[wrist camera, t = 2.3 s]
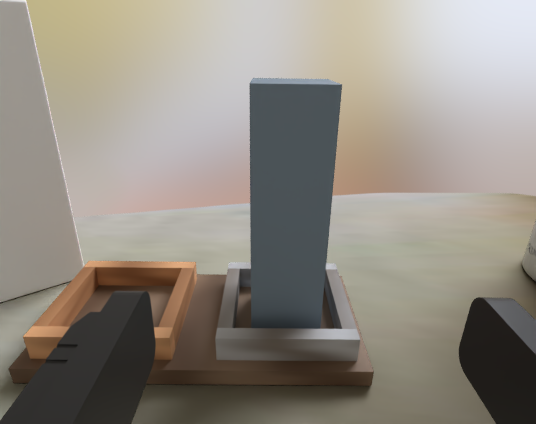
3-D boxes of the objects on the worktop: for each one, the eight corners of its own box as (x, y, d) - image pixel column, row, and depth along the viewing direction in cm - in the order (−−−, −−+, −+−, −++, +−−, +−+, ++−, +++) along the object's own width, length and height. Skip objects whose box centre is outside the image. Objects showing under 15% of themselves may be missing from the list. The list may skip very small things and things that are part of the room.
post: (311, 295, 25) (327, 79, 19) (319, 337, 21) (342, 84, 16) (253, 295, 25) (253, 78, 19) (251, 336, 21) (249, 83, 16)
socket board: (340, 287, 28) (343, 258, 27) (371, 385, 19) (377, 349, 18) (89, 284, 28) (83, 255, 27) (13, 382, 19) (0, 346, 18)
